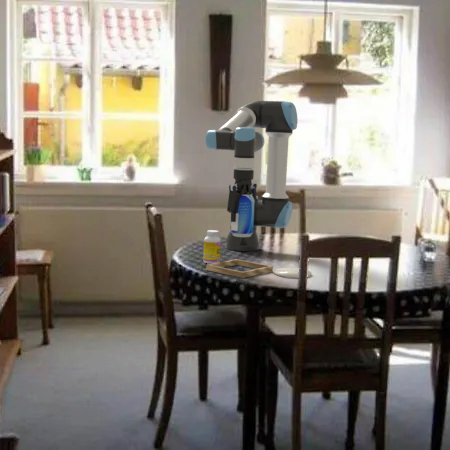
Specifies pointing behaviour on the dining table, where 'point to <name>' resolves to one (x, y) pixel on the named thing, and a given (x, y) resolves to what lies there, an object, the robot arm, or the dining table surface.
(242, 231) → the beer can
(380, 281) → the dining table surface
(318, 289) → the dining table surface
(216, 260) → the supplement bottle
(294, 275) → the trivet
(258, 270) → the oak frame
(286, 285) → the dining table surface
